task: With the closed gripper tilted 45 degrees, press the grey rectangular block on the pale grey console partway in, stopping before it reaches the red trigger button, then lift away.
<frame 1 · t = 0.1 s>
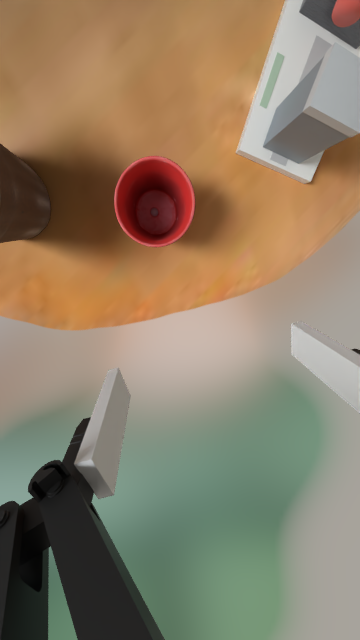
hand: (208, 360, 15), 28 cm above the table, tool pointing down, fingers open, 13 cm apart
flower pot: (155, 213, 36), on the table
grey rectangular block: (312, 118, 27), point 7 cm above the table, slide at 0.0 cm
console: (296, 104, 32), on the table
plant pot: (13, 199, 33), on the table
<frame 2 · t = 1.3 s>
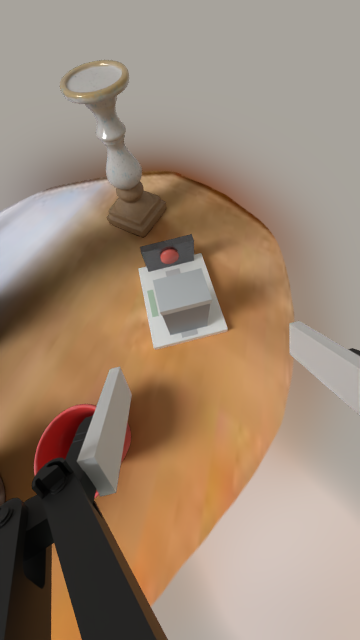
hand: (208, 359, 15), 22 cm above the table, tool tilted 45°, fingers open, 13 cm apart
flower pot: (108, 438, 34), on the table
grey rectangular block: (183, 306, 33), point 7 cm above the table, slide at 0.0 cm
console: (180, 299, 42), on the table
candle holder: (138, 216, 51), on the table
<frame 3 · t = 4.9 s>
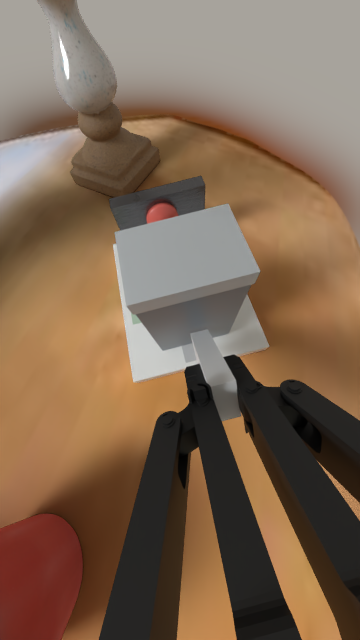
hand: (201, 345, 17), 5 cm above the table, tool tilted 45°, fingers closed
flower pot: (39, 570, 17), on the table
grey rectangular block: (186, 296, 17), point 7 cm above the table, slide at 0.8 cm, touching gripper
console: (181, 294, 25), on the table
candle holder: (118, 172, 35), on the table
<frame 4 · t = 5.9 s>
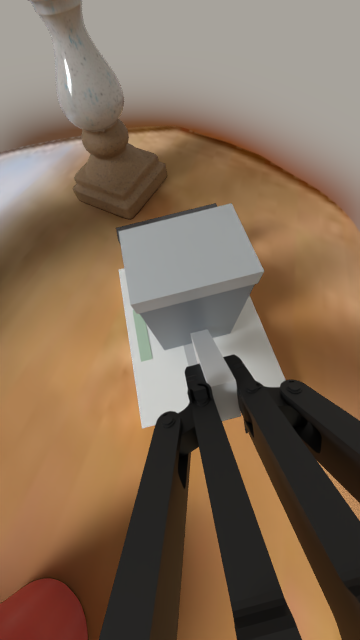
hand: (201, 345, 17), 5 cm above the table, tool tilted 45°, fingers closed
grey rectangular block: (189, 295, 17), point 7 cm above the table, slide at 5.0 cm, touching gripper
console: (191, 325, 23), on the table
candle holder: (123, 188, 33), on the table
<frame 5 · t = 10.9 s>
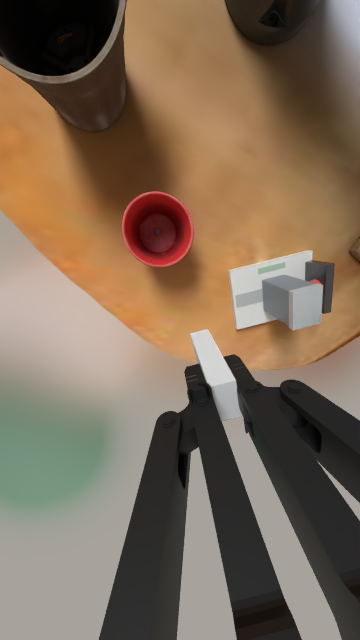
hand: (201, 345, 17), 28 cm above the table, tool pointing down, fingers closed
flower pot: (158, 232, 40), on the table
grey rectangular block: (288, 299, 40), point 7 cm above the table, slide at 5.1 cm
console: (269, 290, 47), on the table
plant pot: (87, 84, 31), on the table
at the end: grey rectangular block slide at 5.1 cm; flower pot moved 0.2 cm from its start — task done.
